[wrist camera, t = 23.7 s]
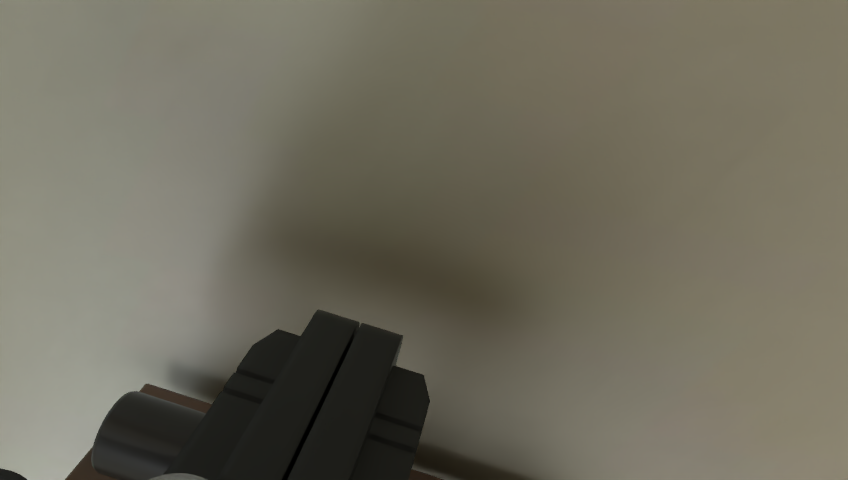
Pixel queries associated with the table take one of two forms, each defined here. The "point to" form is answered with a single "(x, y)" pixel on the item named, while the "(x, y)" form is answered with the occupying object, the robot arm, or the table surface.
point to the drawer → (148, 436)
